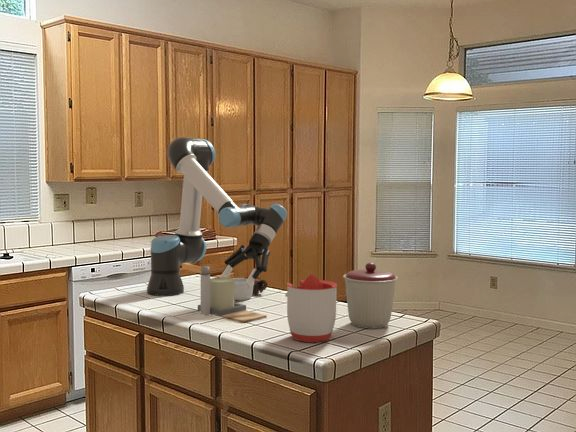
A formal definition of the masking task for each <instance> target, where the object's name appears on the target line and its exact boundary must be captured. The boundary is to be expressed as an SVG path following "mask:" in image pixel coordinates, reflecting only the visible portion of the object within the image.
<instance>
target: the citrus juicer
mask: <svg viewBox="0 0 576 432" xmlns="http://www.w3.org/2000/svg"><path fill="white" fill-rule="evenodd" d="M286 286H287V289H286V290H287V292H286V293H285V297H286V298H287V299H286V300H287V301H286V302H287V304H286V305H287V306H286V307H287V308H286V310H287V311H286V313H287V314H286V315H287V323H288V326H289V331H290V333H291V334H290V335H291V337H292V338H293V339H295V341H296V340H297V341H299V342H300V341H301V342H307V343H311V344H312V343H313V344H317V343H319V342H326V341H328V340H330V338H331V336H332V334H333V331H334V327H335V322H336V320H337V319H336V317H337V287H338V283H337V282H334V281H330V280H323V279H319V278H318V277H317V276H316V275H314V273H311V274H309V275H308V276H307V277H306V278H305V279H300V280H299V286H297V287H295V286H294V284H292V283H290V282H287V283H286Z"/></svg>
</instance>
